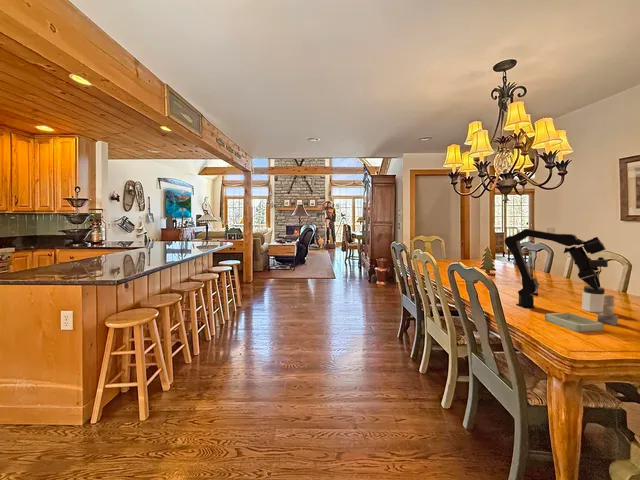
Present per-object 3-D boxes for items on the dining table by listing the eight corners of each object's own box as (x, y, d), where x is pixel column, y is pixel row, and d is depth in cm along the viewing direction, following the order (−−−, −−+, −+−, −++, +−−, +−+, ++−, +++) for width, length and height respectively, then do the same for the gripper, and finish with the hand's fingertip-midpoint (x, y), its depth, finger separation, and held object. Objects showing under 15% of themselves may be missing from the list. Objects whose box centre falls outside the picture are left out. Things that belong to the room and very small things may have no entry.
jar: (599, 313, 159) (601, 290, 158) (579, 309, 165) (581, 287, 164) (605, 311, 163) (607, 288, 163) (586, 307, 170) (587, 285, 169)
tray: (544, 320, 148) (545, 314, 148) (567, 318, 151) (568, 312, 151) (578, 332, 133) (578, 325, 133) (603, 330, 135) (604, 323, 135)
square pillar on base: (597, 322, 146) (599, 295, 145) (600, 320, 149) (601, 293, 148) (615, 325, 141) (616, 298, 141) (617, 323, 145) (619, 296, 144)
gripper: (598, 253, 142) (618, 286, 138) (602, 250, 155) (620, 280, 151) (569, 262, 150) (588, 293, 146) (576, 258, 163) (592, 287, 159)
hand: (598, 288), depth 150 cm, fingers open, 9 cm apart
